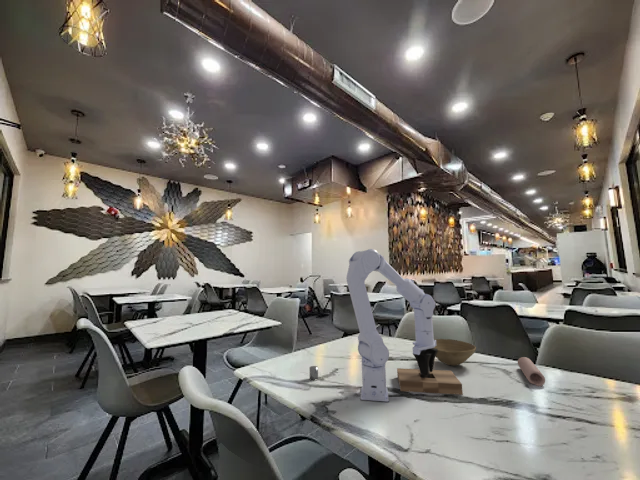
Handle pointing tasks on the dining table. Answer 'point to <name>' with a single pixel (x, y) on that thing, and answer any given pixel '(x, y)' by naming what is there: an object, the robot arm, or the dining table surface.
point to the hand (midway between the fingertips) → (426, 372)
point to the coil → (531, 371)
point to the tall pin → (425, 375)
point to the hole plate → (429, 382)
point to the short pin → (313, 372)
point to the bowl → (453, 351)
